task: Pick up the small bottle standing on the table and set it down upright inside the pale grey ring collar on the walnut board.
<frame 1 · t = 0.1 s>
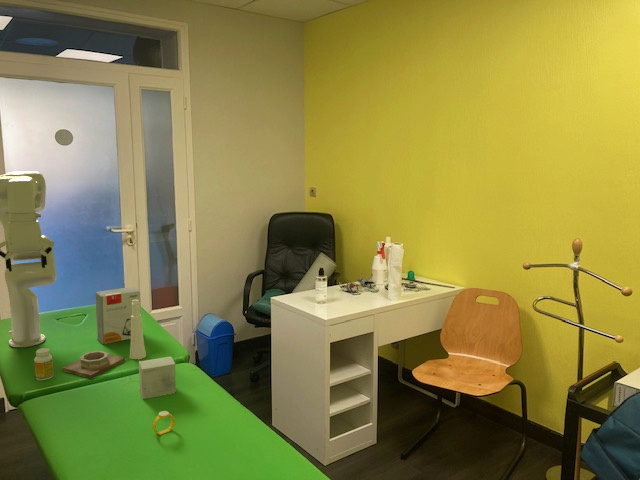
hand: (27, 268, 174), 37 cm above the table, tool pointing down, fingers open, 9 cm apart
walnut board: (94, 365, 188), on the table
hard drive box: (119, 338, 214), on the table
skincare box: (157, 392, 170), on the table
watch: (164, 433, 148), on the table
supplement bottle: (44, 377, 179), on the table
cosmetic bottle: (137, 357, 197), on the table
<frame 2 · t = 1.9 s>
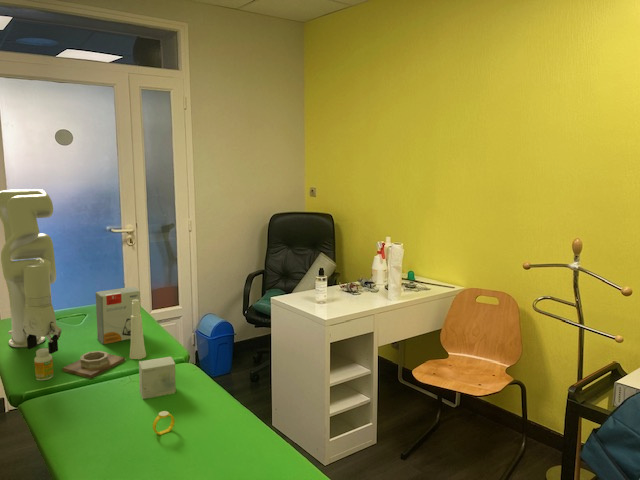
hand: (42, 350, 176), 10 cm above the table, tool pointing down, fingers open, 9 cm apart
nothing on the table moved.
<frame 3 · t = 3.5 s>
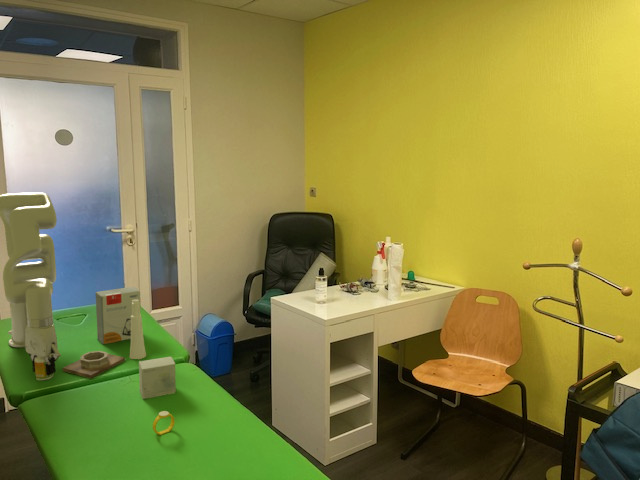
hand: (44, 371, 178), 2 cm above the table, tool pointing down, fingers closed on supplement bottle, 5 cm apart
supplement bottle: (44, 377, 179), on the table, touching gripper
everything else where it was.
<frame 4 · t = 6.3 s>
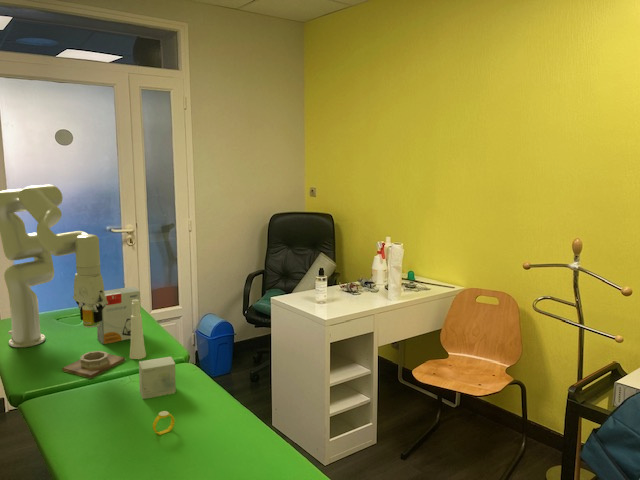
hand: (91, 319, 185), 17 cm above the table, tool pointing down, fingers closed on supplement bottle, 5 cm apart
supplement bottle: (91, 325, 185), point 15 cm above the table, touching gripper
everything else where it was.
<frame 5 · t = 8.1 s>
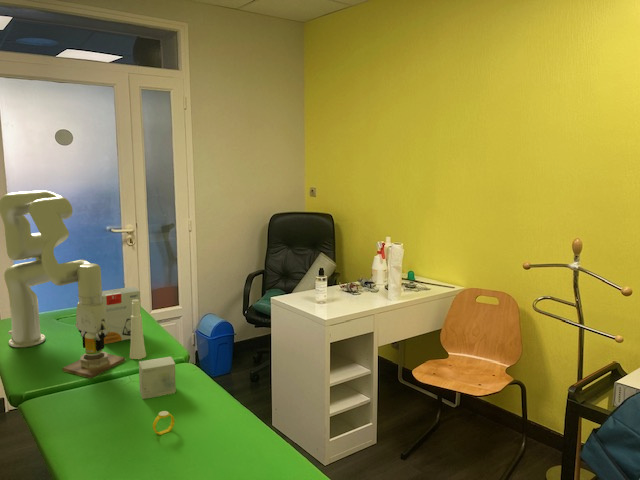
hand: (93, 347, 187), 7 cm above the table, tool pointing down, fingers closed on supplement bottle, 5 cm apart
supplement bottle: (94, 353, 187), point 5 cm above the table, touching gripper
everything else where it was.
when the fingers open (5 cm above the table, at t = 9.4 s): supplement bottle drops 2 cm, resting on walnut board.
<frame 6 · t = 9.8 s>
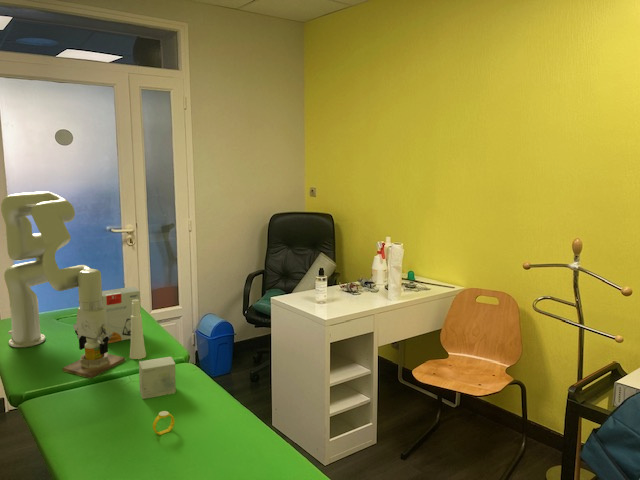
hand: (93, 350, 187), 6 cm above the table, tool pointing down, fingers open, 9 cm apart
supplement bottle: (94, 363, 188), point 1 cm above the table, touching walnut board
everything else where it was.
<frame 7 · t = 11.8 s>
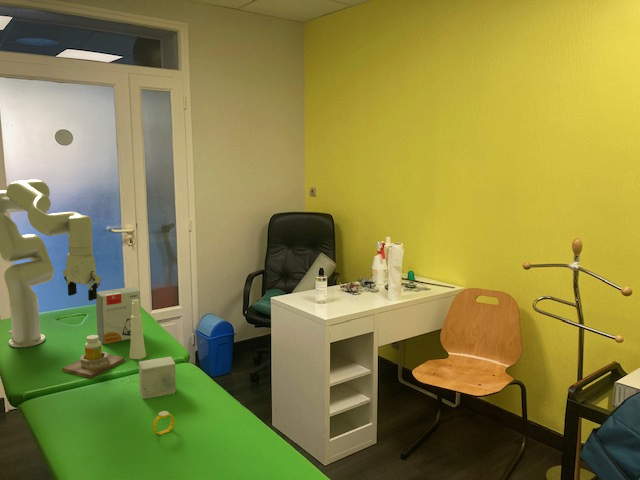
hand: (82, 297, 188), 24 cm above the table, tool pointing down, fingers open, 9 cm apart
nothing on the table moved.
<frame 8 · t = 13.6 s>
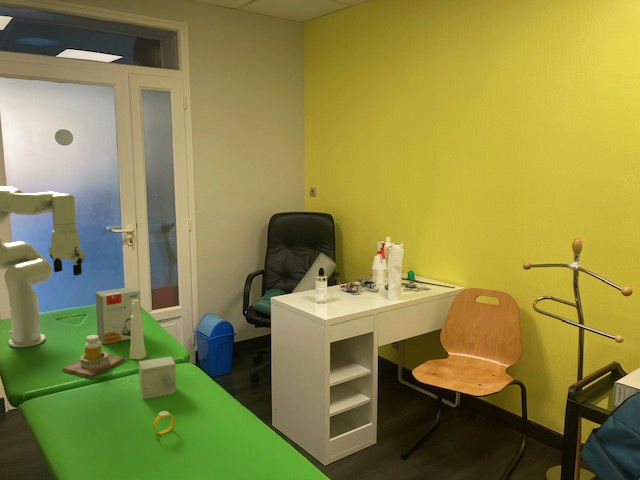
hand: (67, 273, 195), 30 cm above the table, tool pointing down, fingers open, 9 cm apart
nothing on the table moved.
at the end: supplement bottle 0.2 cm from the walnut board (horizontally); supplement bottle point 1.0 cm above the table; supplement bottle tilted 0° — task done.
